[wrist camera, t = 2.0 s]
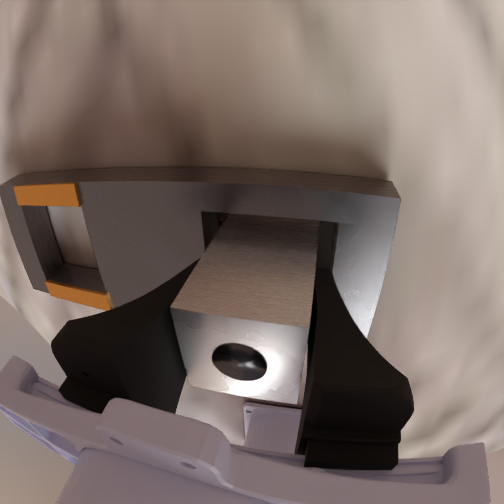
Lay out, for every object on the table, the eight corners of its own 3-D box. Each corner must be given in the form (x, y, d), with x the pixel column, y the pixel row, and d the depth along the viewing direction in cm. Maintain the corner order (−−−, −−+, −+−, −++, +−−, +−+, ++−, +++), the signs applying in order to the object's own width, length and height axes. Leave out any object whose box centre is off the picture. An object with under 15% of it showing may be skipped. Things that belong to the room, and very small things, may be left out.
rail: (361, 321, 17) (363, 351, 15) (49, 273, 21) (31, 290, 19) (391, 181, 12) (402, 200, 11) (18, 174, 17) (-5, 187, 15)
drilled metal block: (312, 287, 16) (296, 405, 10) (236, 278, 17) (189, 386, 11) (319, 215, 14) (309, 328, 8) (232, 208, 15) (169, 308, 9)
